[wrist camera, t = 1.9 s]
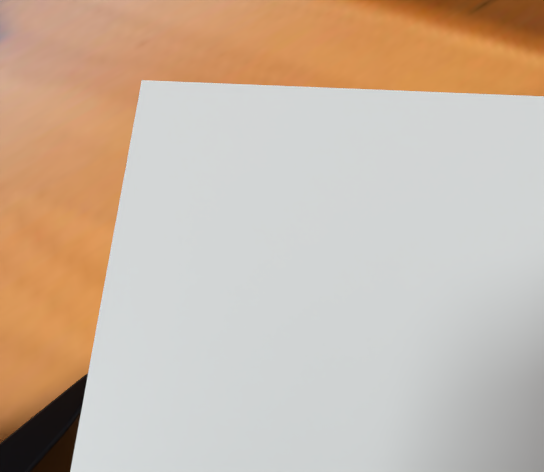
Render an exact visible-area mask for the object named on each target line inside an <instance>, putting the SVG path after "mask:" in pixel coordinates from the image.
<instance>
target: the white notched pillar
mask: <svg viewBox="0 0 544 472" xmlns="http://www.w3.org/2000/svg"><path fill="white" fill-rule="evenodd" d="M70 472H544V97H543V96H518V95H494V94H469V93H444V92H419V91H394V90H369V89H345V88H320V87H295V86H270V85H245V84H221V83H196V82H171V81H146V80H142V82H141V88H140V93H139V98H138V104H137V109H136V115H135V120H134V126H133V131H132V137H131V142H130V148H129V153H128V159H127V164H126V169H125V175H124V180H123V186H122V191H121V197H120V202H119V208H118V213H117V219H116V224H115V230H114V235H113V240H112V246H111V251H110V257H109V262H108V268H107V273H106V279H105V284H104V290H103V295H102V301H101V306H100V311H99V317H98V322H97V328H96V333H95V339H94V344H93V350H92V355H91V361H90V366H89V372H88V377H87V382H86V388H85V393H84V399H83V404H82V410H81V415H80V421H79V426H78V432H77V437H76V443H75V448H74V453H73V459H72V464H71V470H70Z"/></svg>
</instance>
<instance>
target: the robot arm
mask: <svg viewBox="0 0 544 472" xmlns="http://www.w3.org/2000/svg"><path fill="white" fill-rule="evenodd" d="M87 377H88V374H86V375H85V376H83V377H82V378H81V379H80V380H78V381H77V382H76V383H75V384H73V385H72V386H71V387H70V388H68V389H67V390H66V391H65V392H63V393H62V394H61V395H60V396H58V397H57V398H56V399H55V400H53V401H52V402H51V403H50V404H49V405H47V406H46V407H45V408H44V409H42V410H41V411H40V412H39V413H37V414H36V415H35V416H34V417H32V418H31V419H30V420H29V421H27V422H26V423H25V424H24V425H22V426H21V427H20V428H19V429H17V430H16V431H15V432H14V433H12V434H11V435H10V436H9V437H8V438H6V439H5V440H4V441H3V442H1V443H0V472H70V470H71V464H72V459H73V453H74V448H75V443H76V437H77V432H78V426H79V421H80V415H81V410H82V404H83V399H84V393H85V388H86V382H87Z"/></svg>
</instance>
